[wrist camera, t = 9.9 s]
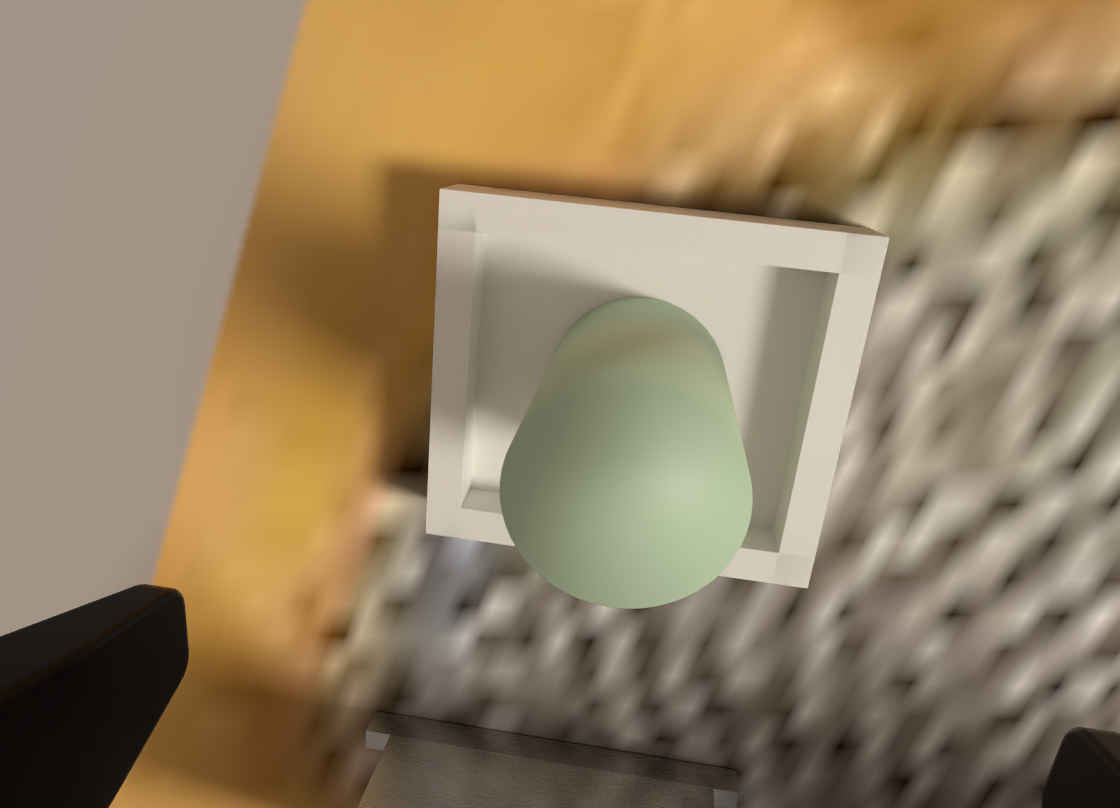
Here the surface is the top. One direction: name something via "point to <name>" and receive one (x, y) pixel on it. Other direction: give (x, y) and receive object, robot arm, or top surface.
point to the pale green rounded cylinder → (629, 460)
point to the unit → (526, 772)
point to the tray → (668, 275)
